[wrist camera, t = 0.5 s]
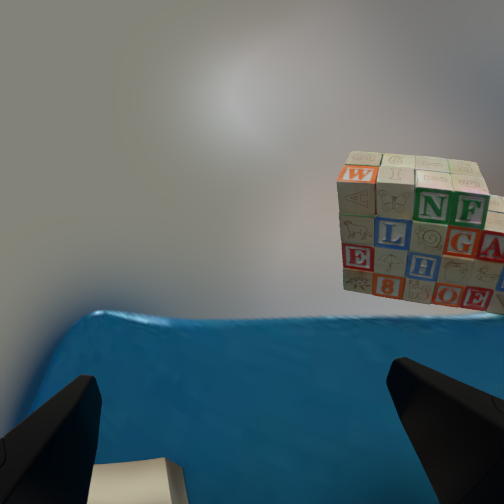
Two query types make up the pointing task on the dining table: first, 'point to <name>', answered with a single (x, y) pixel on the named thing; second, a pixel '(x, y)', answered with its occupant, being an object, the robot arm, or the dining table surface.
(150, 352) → the dining table surface
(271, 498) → the dining table surface
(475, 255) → the stack of blocks
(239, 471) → the dining table surface
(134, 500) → the birch block
